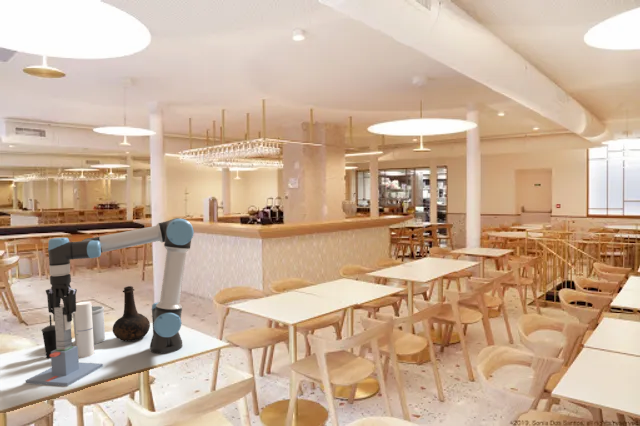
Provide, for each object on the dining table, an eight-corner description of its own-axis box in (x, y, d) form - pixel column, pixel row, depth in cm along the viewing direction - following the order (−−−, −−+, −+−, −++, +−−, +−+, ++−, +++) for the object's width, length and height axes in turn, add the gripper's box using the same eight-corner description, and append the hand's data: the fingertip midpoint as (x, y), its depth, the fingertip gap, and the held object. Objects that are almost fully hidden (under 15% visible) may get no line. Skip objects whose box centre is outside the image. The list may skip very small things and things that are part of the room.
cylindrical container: (86, 357, 202) (83, 305, 202) (73, 357, 204) (70, 304, 203) (97, 352, 209) (94, 301, 208) (84, 351, 211) (82, 301, 210)
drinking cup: (65, 354, 208) (63, 313, 207) (49, 360, 201) (47, 317, 200) (55, 352, 211) (52, 312, 210) (39, 358, 204) (37, 316, 203)
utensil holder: (72, 348, 216) (70, 314, 215) (75, 340, 230) (73, 307, 229) (104, 343, 222) (102, 310, 221) (106, 335, 236) (104, 304, 235)
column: (73, 355, 185) (70, 305, 184) (65, 359, 180) (62, 307, 180) (64, 355, 186) (61, 305, 185) (56, 359, 181) (53, 307, 181)
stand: (102, 366, 191) (101, 341, 191) (67, 386, 171) (66, 358, 171) (64, 364, 195) (62, 340, 195) (25, 383, 176) (24, 356, 175)
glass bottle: (157, 334, 235) (154, 283, 234) (135, 345, 218) (133, 290, 217) (128, 332, 239) (126, 283, 238) (105, 343, 222) (102, 290, 221)
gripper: (84, 272, 184) (87, 327, 184) (50, 272, 187) (53, 325, 188) (70, 276, 176) (73, 332, 177) (35, 275, 180) (38, 331, 181)
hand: (63, 328), depth 183 cm, fingers open, 4 cm apart
